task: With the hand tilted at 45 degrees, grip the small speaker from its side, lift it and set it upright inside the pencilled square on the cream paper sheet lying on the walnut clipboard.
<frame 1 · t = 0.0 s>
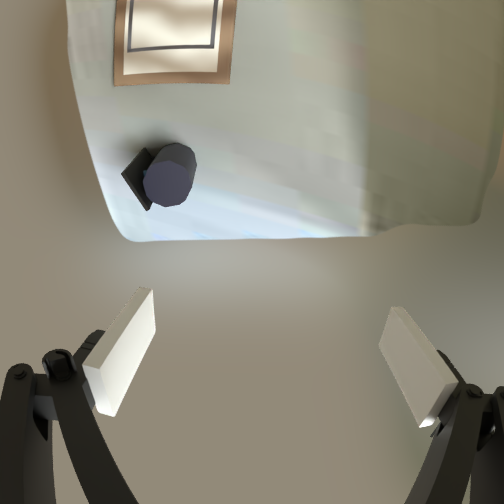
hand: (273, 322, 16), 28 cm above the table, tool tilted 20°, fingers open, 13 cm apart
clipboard: (174, 9, 26), on the table
speaker: (175, 156, 39), on the table
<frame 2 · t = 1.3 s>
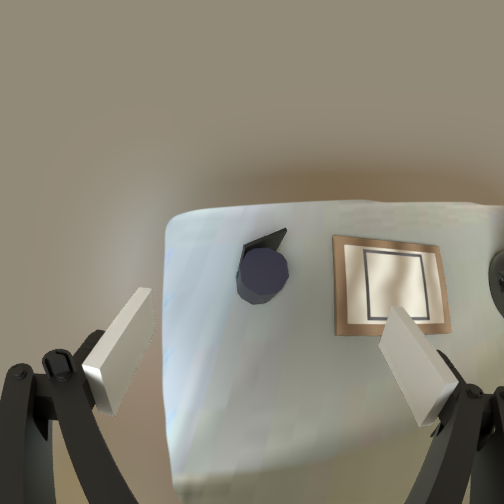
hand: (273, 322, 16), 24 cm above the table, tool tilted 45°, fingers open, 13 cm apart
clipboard: (394, 287, 42), on the table
speaker: (261, 284, 42), on the table
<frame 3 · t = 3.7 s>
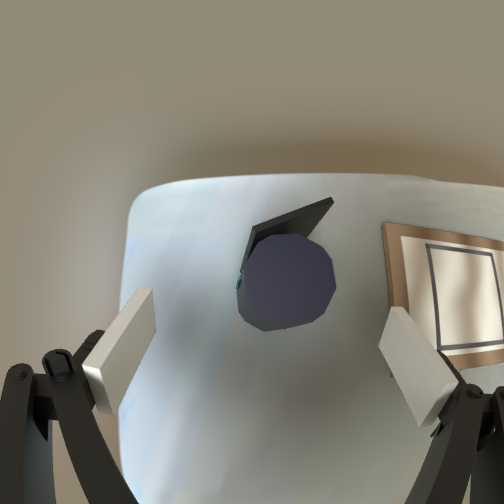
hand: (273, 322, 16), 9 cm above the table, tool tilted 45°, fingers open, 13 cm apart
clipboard: (464, 299, 26), on the table
speaker: (277, 298, 26), on the table
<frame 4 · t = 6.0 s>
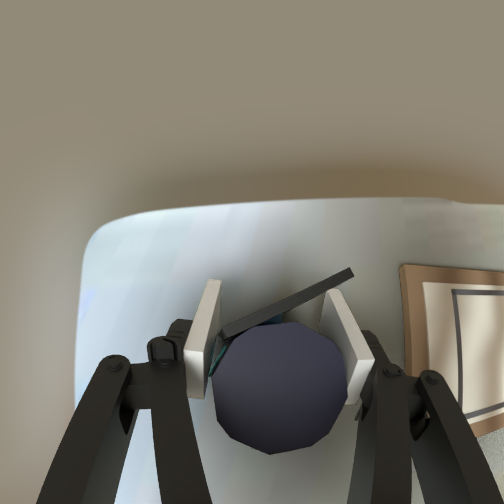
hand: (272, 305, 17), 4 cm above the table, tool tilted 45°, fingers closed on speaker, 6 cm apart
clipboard: (489, 351, 19), on the table
speaker: (265, 371, 19), on the table, touching gripper
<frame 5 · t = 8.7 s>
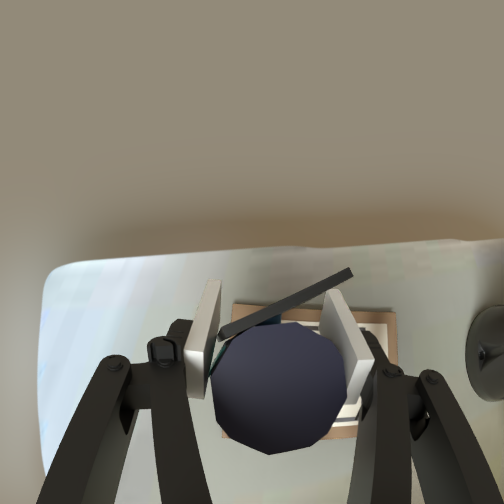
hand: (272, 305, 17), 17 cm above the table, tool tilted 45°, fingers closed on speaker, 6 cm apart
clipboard: (317, 375, 31), on the table
speaker: (265, 371, 19), point 13 cm above the table, touching gripper
when the fingers open (6 cm above the table, at t = 11.6 s): speaker stays where it is, resting on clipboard.
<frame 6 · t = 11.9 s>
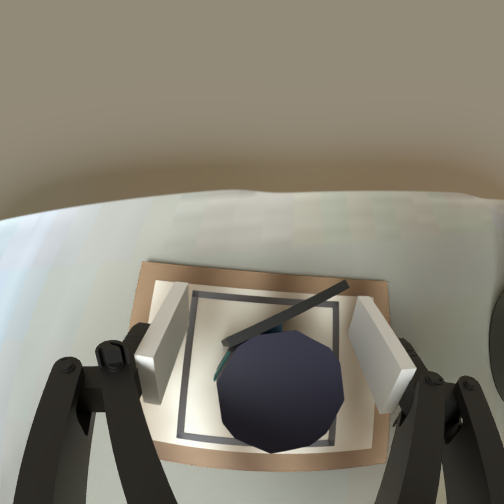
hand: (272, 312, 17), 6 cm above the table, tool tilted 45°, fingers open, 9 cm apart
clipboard: (260, 372, 21), on the table
speaker: (268, 373, 20), point 1 cm above the table, touching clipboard
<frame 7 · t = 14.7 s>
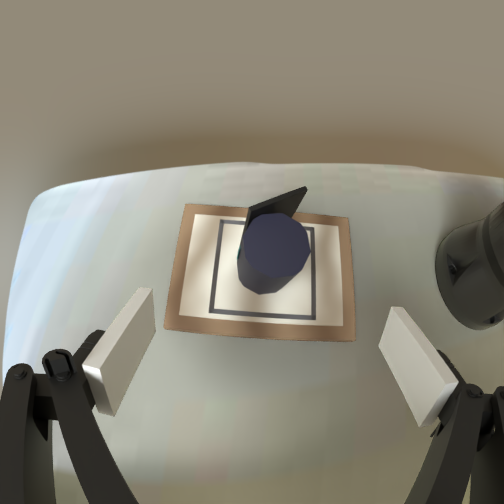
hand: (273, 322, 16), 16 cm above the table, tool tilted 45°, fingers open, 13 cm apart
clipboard: (264, 271, 33), on the table
speaker: (269, 269, 33), point 1 cm above the table, touching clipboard
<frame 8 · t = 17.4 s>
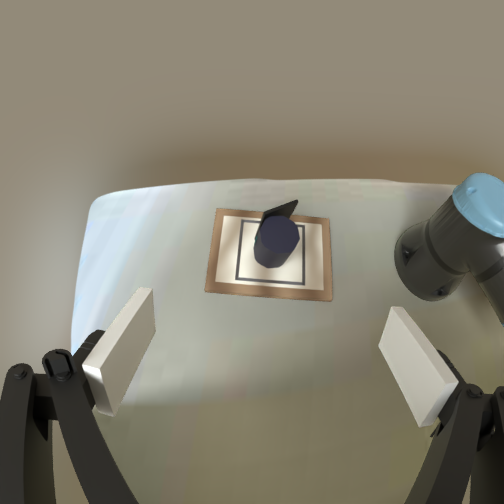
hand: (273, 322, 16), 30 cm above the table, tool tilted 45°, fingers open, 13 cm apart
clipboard: (271, 254, 50), on the table
speaker: (274, 252, 49), point 1 cm above the table, touching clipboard
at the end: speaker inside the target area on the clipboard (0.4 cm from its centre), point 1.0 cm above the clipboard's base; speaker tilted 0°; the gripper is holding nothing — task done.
